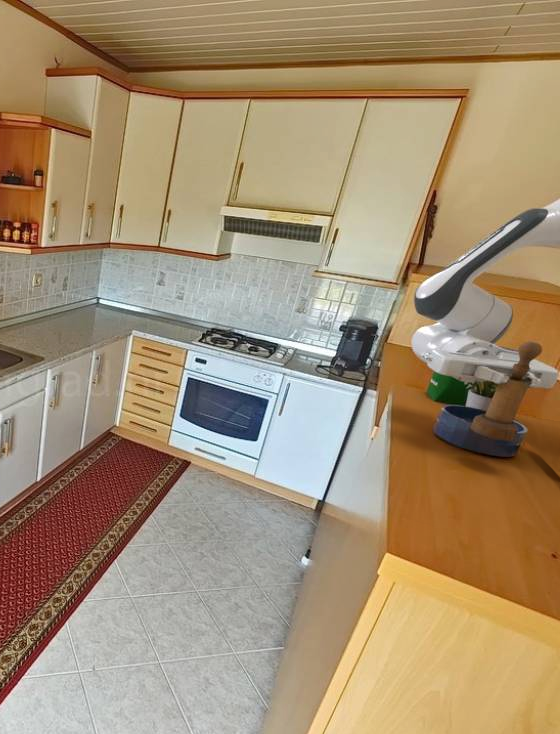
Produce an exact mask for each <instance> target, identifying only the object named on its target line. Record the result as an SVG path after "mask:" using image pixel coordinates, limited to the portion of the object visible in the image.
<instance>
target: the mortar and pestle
mask: <svg viewBox="0 0 560 734" xmlns="http://www.w3.org/2000/svg"><path fill="white" fill-rule="evenodd" d="M517 350H518V353H519V357H520V360H519V362H518V363H517V364H514V365H513V371H512V376H509V380H507V381H508V382H507V384H498V386H497V389H496V391H495V393H494V396H493V398H492V400H491V403H490V405H489V407H488V410H487V412H486V414H481V415H479V416H476V417H475V418H474V420H473V422H472V425H471V429H472V430H473V431H475V432H477V433H479V434H481V435H484V436H486V437H490V438H493V439H497V440H504V441H513V440H514V439H515V437H516V435H517V433H518V431H519V428H518V427H517V425H516V424H515V423H514V422H513V420H514V421H515V417H516V415H517V413H518V410H519V408H520V406H521V404H522V402H523V400H524V397H525V395H526V393H527V391H528V390H529V389H528V387H529V385H530V383H531V382H530V381H528V380H526V379H522V378H523V377H524V376H525V375H526V374H527V373H528V371H529V370H530V367H529V363H530V362H531V361H532V360H533V359H535V360H536V358H537V357H539V356H540V355H541V354H542V352H543V347H542V345H541V344H540V343H538V342H535V341H524V342H522V343H521V344H520V345H519V347H518V349H517Z"/></svg>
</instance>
